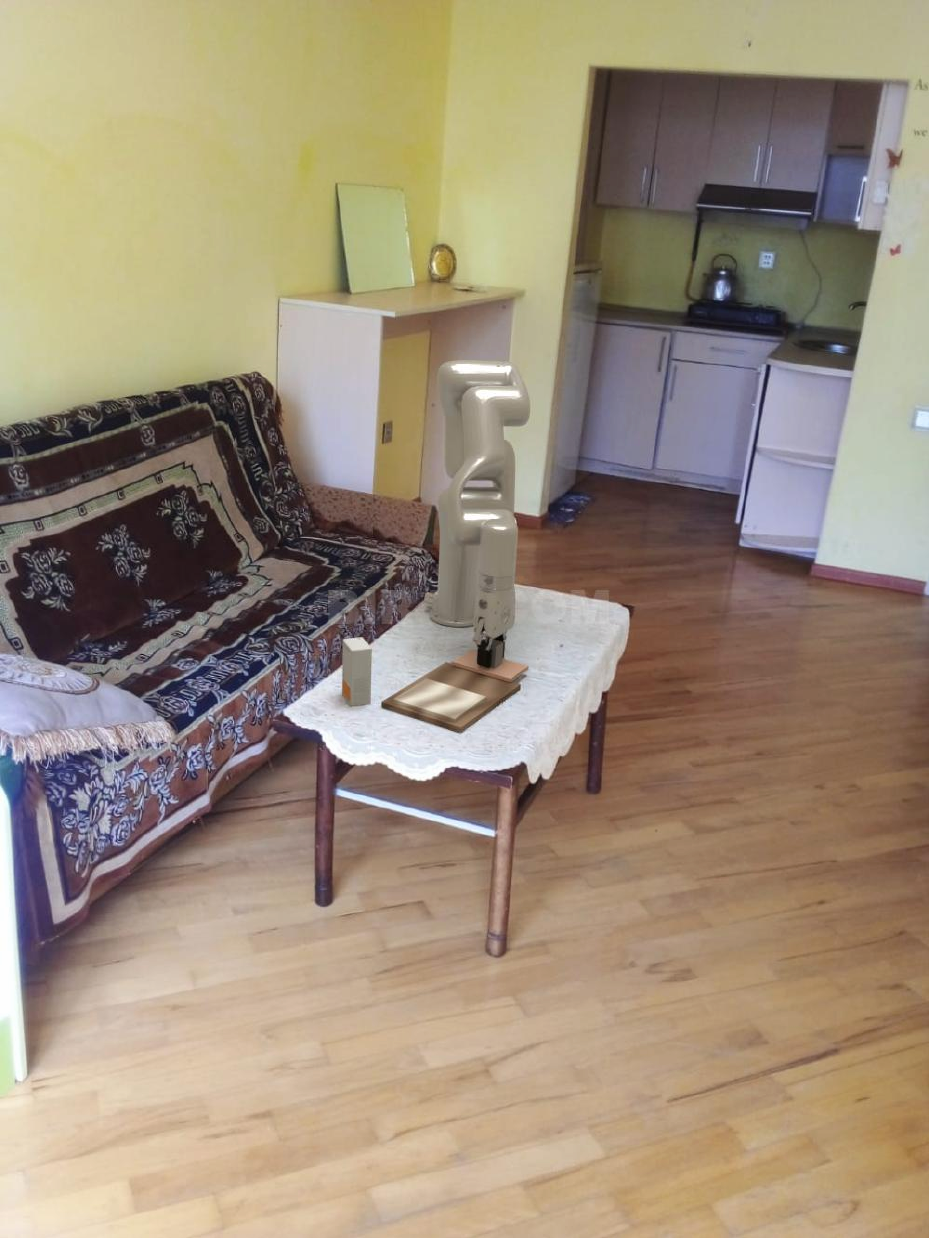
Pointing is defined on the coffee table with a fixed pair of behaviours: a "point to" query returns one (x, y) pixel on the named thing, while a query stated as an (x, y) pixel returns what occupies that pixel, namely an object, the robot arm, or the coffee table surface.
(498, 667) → the peach lid with handle
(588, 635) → the coffee table surface
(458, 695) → the board
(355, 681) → the skincare box
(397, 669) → the coffee table surface
